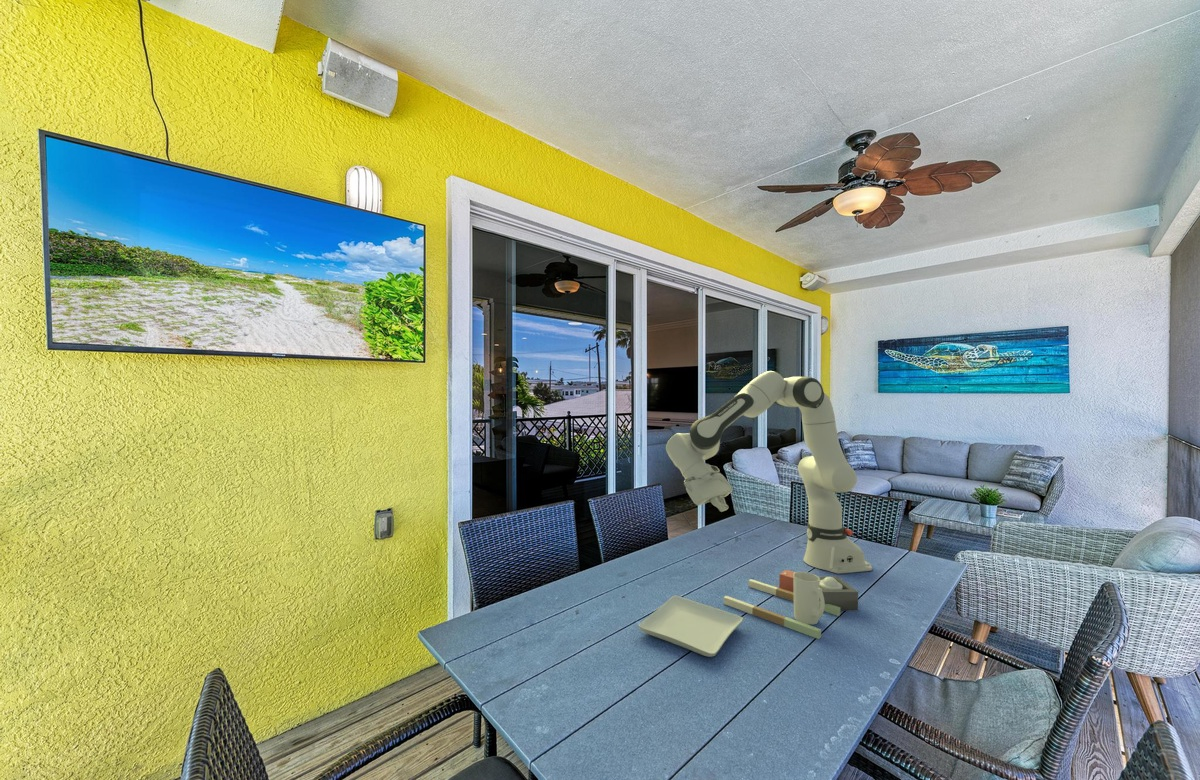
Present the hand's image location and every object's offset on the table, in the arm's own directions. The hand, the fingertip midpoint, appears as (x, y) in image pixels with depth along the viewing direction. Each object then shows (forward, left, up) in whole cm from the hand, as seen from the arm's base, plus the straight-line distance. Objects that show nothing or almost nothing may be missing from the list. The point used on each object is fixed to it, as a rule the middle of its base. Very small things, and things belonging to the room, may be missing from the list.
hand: (725, 510), depth 145 cm
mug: (-18, +21, -26) cm, 37 cm away
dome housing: (-30, +9, -25) cm, 40 cm away
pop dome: (-30, +9, -22) cm, 38 cm away
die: (-21, +1, -25) cm, 33 cm away
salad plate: (+16, +26, -26) cm, 40 cm away
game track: (-13, +14, -25) cm, 31 cm away
